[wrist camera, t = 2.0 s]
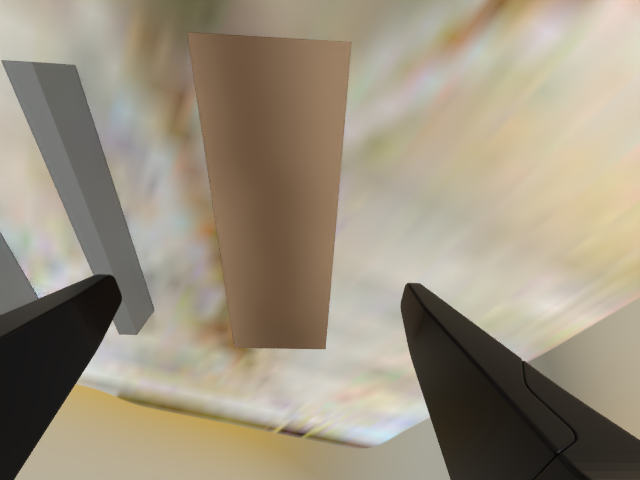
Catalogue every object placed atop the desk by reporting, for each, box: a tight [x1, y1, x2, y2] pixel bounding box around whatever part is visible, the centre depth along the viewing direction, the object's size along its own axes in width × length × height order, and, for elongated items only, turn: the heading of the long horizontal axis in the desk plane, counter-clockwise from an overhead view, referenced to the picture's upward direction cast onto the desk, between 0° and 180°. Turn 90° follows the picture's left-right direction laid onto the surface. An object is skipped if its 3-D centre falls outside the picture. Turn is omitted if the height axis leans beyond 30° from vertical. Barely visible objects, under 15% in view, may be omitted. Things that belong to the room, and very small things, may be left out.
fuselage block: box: [187, 32, 351, 349], centre depth 15 cm, size 5×14×6 cm, turn 177°
